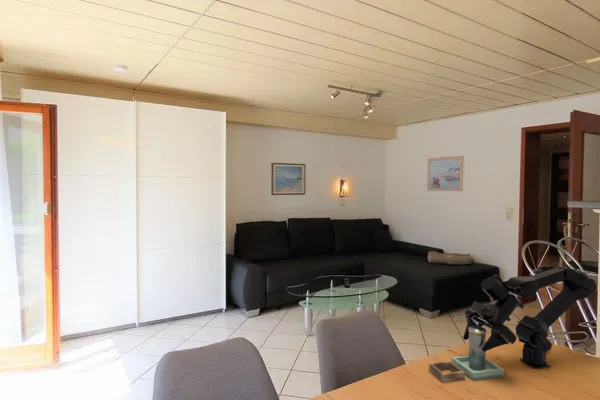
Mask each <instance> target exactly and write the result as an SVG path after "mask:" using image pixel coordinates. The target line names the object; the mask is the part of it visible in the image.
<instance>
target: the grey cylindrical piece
mask: <svg viewBox="0 0 600 400" xmlns="http://www.w3.org/2000/svg"><path fill="white" fill-rule="evenodd" d="M486 337H487V329H486V328H484V326H481V327H479V326H470V327H469V338H468V356H469V368H471V369H473V370H476V371H482V370H485V363H486V358H487V356H486V353H487V351H485V352H484V351H482V347H483V346H484V344H485V343H486V341H487V338H486Z"/></svg>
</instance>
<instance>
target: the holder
mask: <svg viewBox="0 0 600 400" xmlns="http://www.w3.org/2000/svg"><path fill="white" fill-rule="evenodd" d="M428 371H429V372H430V373H431V375H434V377H435V378H437V379H438V380H439V381H440V382H441V383H443V384H444V383H451V382H458V381H465V380H466V375H465V372H464V371H463V370H461V369H460V368H459V367H457V366H456V365H455V364H453V363H452V360H447V361H439V362H431V363H428ZM443 371H451V372H445V373H444V372H443Z"/></svg>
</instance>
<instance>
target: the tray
mask: <svg viewBox="0 0 600 400" xmlns="http://www.w3.org/2000/svg"><path fill="white" fill-rule="evenodd" d="M451 362H452V363H453V364H455V365H456V366H457V367H459V368H460V369H461V370H463V371H464V372H465V377H467V378H469V379H470V380H471V381H473V382H475V381H482V380H483V381H484V380H491V379H492V380H493V379H498V378H499V379H500V378H504V376H505V375H504V372H505V371H504V368H502V367H501V366H499V365H498V364H496V363H495V362H493V361H491V360H490V359H488V358H487V357H486V363H485V370H482V371H476V370H473V369H471V368H469V355H465V356H464V355H463V356H452V357H451Z"/></svg>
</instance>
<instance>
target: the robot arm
mask: <svg viewBox="0 0 600 400" xmlns="http://www.w3.org/2000/svg"><path fill="white" fill-rule="evenodd" d="M595 281H596V280H595V279H593V278H591V277H589V276H588V277H587V276H585V275H583V274H582V273H579V272H576V271H575V270H574V269H572V268H571V267H566V266H563V265H562V266H561V265H558V266H556V267H554V268H551V269H549V270H548V269H547V270H545V271H543V272H540V273H536V274H533V275H530V276H512V277H510V278H509V279H508V280H505V281H503V279H502V278H501V277H500V275H499V274H498V275H497V274H496V273H494V274H493V275H492V276H488V277H486V278H485V279H483V280H482V281H481V283H480V288H481V289H482V290H483V292H485V294H487V295H488V297H490V299H491V300H492V301H495V302H494V303H493V304H492V303H487V304H486V305H484V304H483V303H481V302H478V301H475V300H473V303H472V306H471V309H469V308H468V309H467V310H465V312H464V313H463V314H464V315H465V317H464V318H465V319H466V322H467V324H466V327H465V331H464V334H463V337H462V339H463V340H464V341H467V340H469V327H470V326H479V327H484V326H485V327H486V328H488V329H490V335H489V337H488V339H486V343H485V344H484V346H483V347H482V351H484V352H485V351H486V352H487V351H489V350H492V349H495V348H497V347H501V346H504V345H508V346H509V344H511V345H513V344H514V343H516V341H517V339H518V341H519V342H520V343H523V345H522V352H521V353H522V355H521V356H522V358H520V357H519V361H521V362H522V363H524V364H526V365H528V366H529V367H531V368H533V369H541V368H548V367H551V365H550V364H549V363H547V352H548V351H551V350H552V346H553V343H552V342H551V341H550V340H549V338H548V339H547V337H548V336H549V328H550V327H551V326H552V325H553V324H554V323H555V322H556V321H557V320H558V319H560V317H561V316H562V315H563V314H564V313H565V312H566V311H567V310H569V308H570V307H571V306H573V305H574V303H576V302H577V301H580V300H584V299H587V298H589V297H591V296H592V295H594V294H595V292H596V290H597V284H596V282H595ZM558 283H562V288H561V289H562V290H561V291H560V292H559V293H557V295H556V296H554V297H553V299H552V300H550V301H549V302H548V303H547V304H546V305H545V306H544V307H543V308H542V309H541V310H540V311H539V312H538V313H537V314H536V315H535V316H529V315H524V316H523V317H522V318H521V320H519V321H517V325H516V326H515V333H514V332H513V331H512V330H511V328H509V327H508V326H507V325H504V324H505V322H510V321H511V318H510V316H511V315H512V314H513V312H514V311H515V309H517V308H519V309H524V308H525V307H524V306H525V305H524V304H523V302H524V301H523V299H529V298H530V297H533V296H534V295H537V293H538V291H539V290H540V289H543V288H546V287H548V286H552V285H555V284H558ZM517 297H519V298H517ZM520 298H522V299H520Z"/></svg>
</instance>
